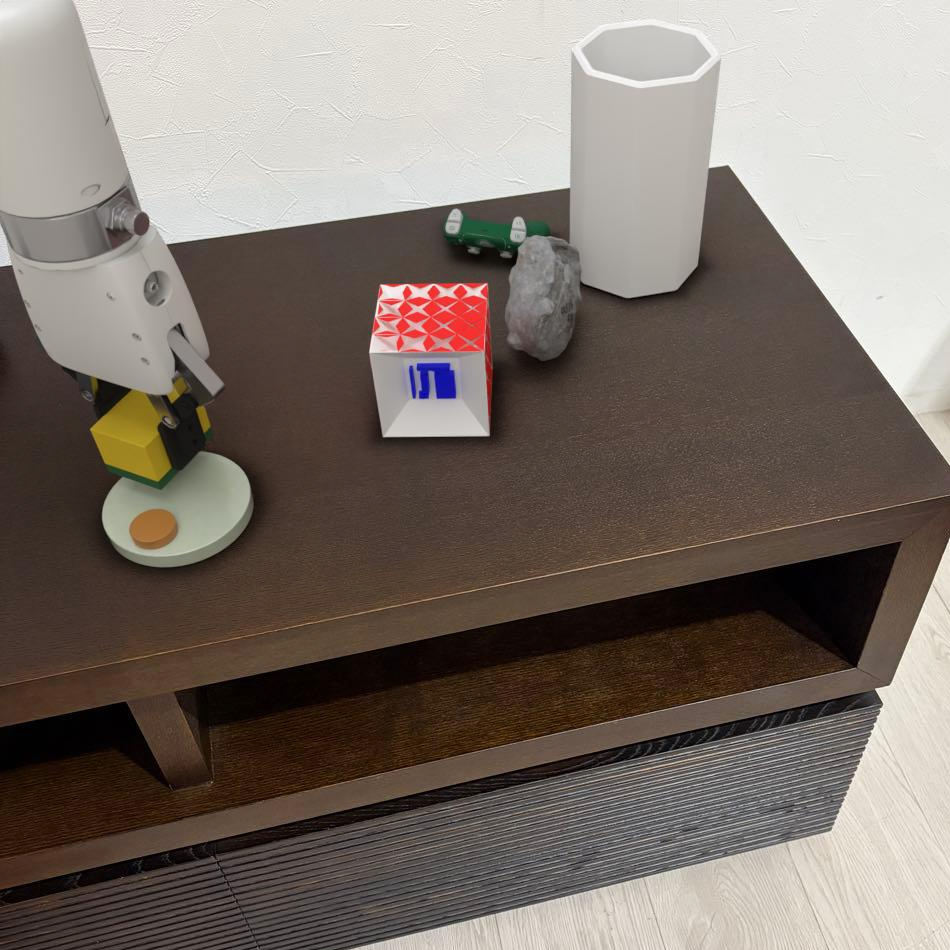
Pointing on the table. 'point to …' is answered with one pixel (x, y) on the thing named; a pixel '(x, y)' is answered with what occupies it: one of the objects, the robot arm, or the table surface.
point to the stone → (543, 296)
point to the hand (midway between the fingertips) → (158, 444)
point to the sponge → (138, 440)
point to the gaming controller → (490, 233)
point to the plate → (183, 511)
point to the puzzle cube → (432, 360)
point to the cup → (640, 153)
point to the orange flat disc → (153, 529)
